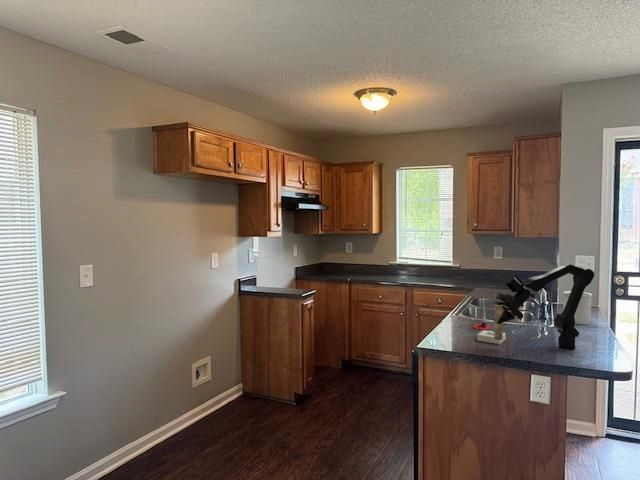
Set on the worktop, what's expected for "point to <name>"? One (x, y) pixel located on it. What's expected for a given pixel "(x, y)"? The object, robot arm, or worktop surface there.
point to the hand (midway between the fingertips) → (495, 322)
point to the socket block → (489, 337)
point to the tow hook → (482, 322)
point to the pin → (498, 327)
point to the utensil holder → (581, 308)
